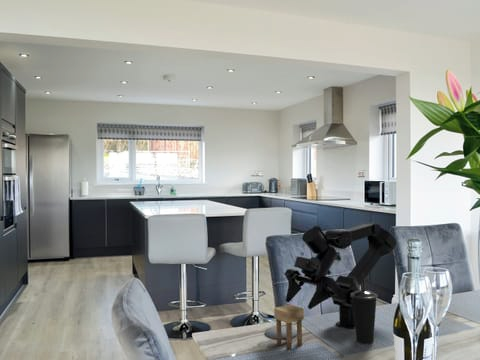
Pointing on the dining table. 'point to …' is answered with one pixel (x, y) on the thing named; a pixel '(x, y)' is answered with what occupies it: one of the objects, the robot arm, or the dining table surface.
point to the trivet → (272, 332)
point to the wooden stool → (289, 323)
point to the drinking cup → (364, 313)
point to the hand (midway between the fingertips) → (297, 304)
